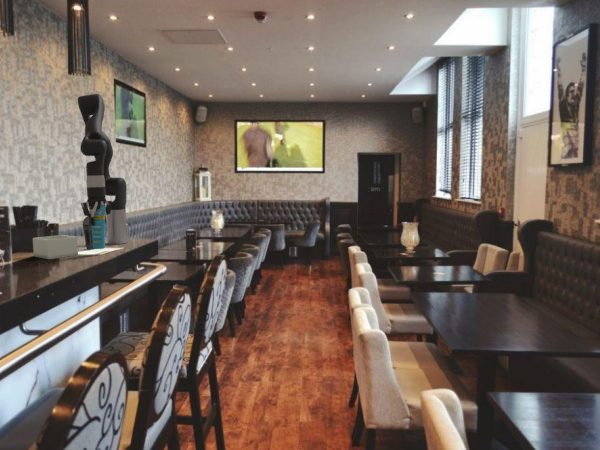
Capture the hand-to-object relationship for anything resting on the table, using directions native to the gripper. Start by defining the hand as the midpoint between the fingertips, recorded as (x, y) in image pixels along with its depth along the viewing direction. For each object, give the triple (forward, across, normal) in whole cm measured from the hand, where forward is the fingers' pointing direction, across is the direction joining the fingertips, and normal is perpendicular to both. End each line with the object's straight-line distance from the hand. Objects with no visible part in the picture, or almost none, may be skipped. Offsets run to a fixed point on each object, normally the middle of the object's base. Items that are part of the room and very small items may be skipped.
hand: (98, 224), depth 236 cm
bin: (+13, +13, -12) cm, 22 cm away
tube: (+11, 0, 0) cm, 11 cm away
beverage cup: (+13, -8, -19) cm, 24 cm away
